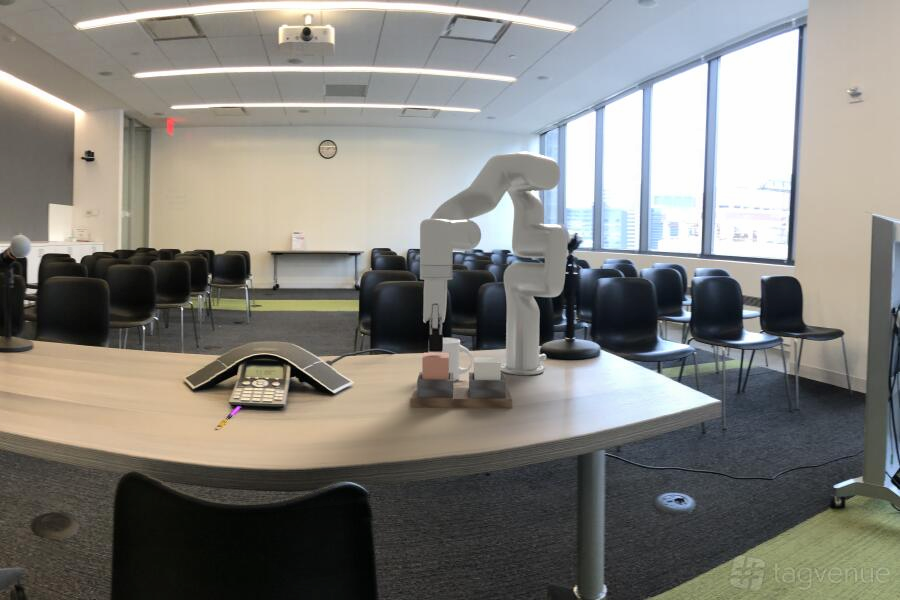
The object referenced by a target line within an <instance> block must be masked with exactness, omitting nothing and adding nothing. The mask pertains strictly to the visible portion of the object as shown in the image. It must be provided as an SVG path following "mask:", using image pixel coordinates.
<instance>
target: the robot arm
mask: <svg viewBox="0 0 900 600" xmlns="http://www.w3.org/2000/svg"><path fill="white" fill-rule="evenodd" d="M560 178H561V170H560V165H558V163H557V161H556V160H555V159H553V158H552V157H548V156H545V155H541V154H538V153H535V152H529V151H518V152H510V153H499V154H496V155H493V156H491V158H489V159H488V160H487V162H486V163H485V164H484V166H483V167H482V168H481V169H480V171H479V172H478V174H477V176H476V177H475V179H474V180H473V181H472V182H471V184H470V185H469V186H468V187H466V188H465V189H464V190H462V191H460V192H459V193H457V194H455V195H453V196H452V197H451V198H449V199H447V200H446V201H444V202H443V203H441V204H440V206H439V207H437V209H436V210H435V211H434V213H432V215H431V217H430V218H426V219H423V220H421V223H420V225H419V279H420V280H422V281H423V280H424V282H423V310H422V316H423V317H422V318H423V319H422V321H423V323H425V324H426V323H427V321H429V333H428V352H429V351H430V352H442V351H443V338H444V334H443V323H445V319H446V315H447V314H446V313H447V301H448V300H447V299H448V280H450V281H451V280H453V254H454V253H453V251H454V252H457V251H458V252H464V251H465V252H466V251H471V250H474V249H475V248H476V247H478V246H479V244H480V242H481V240H482V231H481V228H480V226H479V225H478V224H477V222H475V221H473V220H471V219H474V218H477V217H480V216H482V215H486V214H488V213H489V212H492V211H493V210H495V209H496V207H497V206H498V205H499V203H500V202H501V200H502V199H503V197H504V196H505V194H506V193H508V196H509V197H510V200H511V201H512V205H513V210H514V211H513V224H512V225H513V226H512V235H511V236H512V237H511V238H512V239H511V248H512V252H513V254H514V255H515V256H517V257H519V258H526V259H527V258H528V259H529V258H530V259H532V258H533V259H544V262H531V261H529V262H528V261H526V262H525V261H519V262H514V263H511V264H509V265H508V266H507V267H506V268H505V270H504V272H503V286H504V292H505V297H506V298H505V299H506V301H505V302H506V324H505V325H506V327H505V328H506V329H505V330H506V332H505V335H506V337H505V339H506V340H505V363H503V364H502V363H501V372H502V373H504V374H505V373H506V374H511V375H517V376H531V375H532V376H533V375H538V374H542V373H543V372H545V371H544V370H545V367H544V366H543V365H541V362H542V361H545V360H547V354H545V353H542V354H541V353H540V317H541V316H540V315H541V313H540V308H539V305H538V302H537V301H536V299H535V298H534V297H538V298H539V297H541V298H556V297H558V296H560V295H561V293H562V292H563V291H564V287H565V286H564V285H565V283H566V282H565V280H566V270H567V269H566V268H567V260H568V259H567V258H568V237H567V232H566V231H565V229H564V227H562V226H561V225H558V224H555V223H554V224H553V223H552V224H551V223H547V224H546V223H544V217H545V216H544V213H545V209H544V204H543V202H542V200H541V198H540V197H539V195H538V194H537V193H536V192H538V191H550V190H553V189H554V188H556V186H558V184H559V182H560Z"/></svg>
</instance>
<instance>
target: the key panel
mask: <svg viewBox="0 0 900 600" xmlns="http://www.w3.org/2000/svg"><path fill="white" fill-rule="evenodd" d="M453 374H454V372H449V380H427V379H422V371H419V374H418V376H417V382H416V386H414V387H413V389H412V393H411V396H410V407H411V408H472V409H473V408H475V409H476V408H479V409H480V408H481V409H482V408H483V409H486V408H488V409H490V408H491V409H493V408H494V409H495V408H498V409H512V408H513V398H512V395H511V391H510V388H509V387H507V381H506V378H505V375H504V374H505V373H504V372H501V380H474V371H473V372H472V371H471V372H469V371H468V387H455V386H454V381H453Z"/></svg>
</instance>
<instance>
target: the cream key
mask: <svg viewBox="0 0 900 600" xmlns="http://www.w3.org/2000/svg"><path fill="white" fill-rule="evenodd" d="M501 365H502V362H501V358H500V356H498V357H497V356H494V357H493V356H492V357H491V356H490V357H489V356H486V357H485V356H483V357H482V356H474V357H473V372H474V380H501V373H502V371H501Z"/></svg>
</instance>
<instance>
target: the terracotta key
mask: <svg viewBox="0 0 900 600" xmlns="http://www.w3.org/2000/svg"><path fill="white" fill-rule="evenodd" d="M421 361H422V367H421V368H422V371H421V372H422V379H427V380H449V353H429V352H423V354H422V359H421Z"/></svg>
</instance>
